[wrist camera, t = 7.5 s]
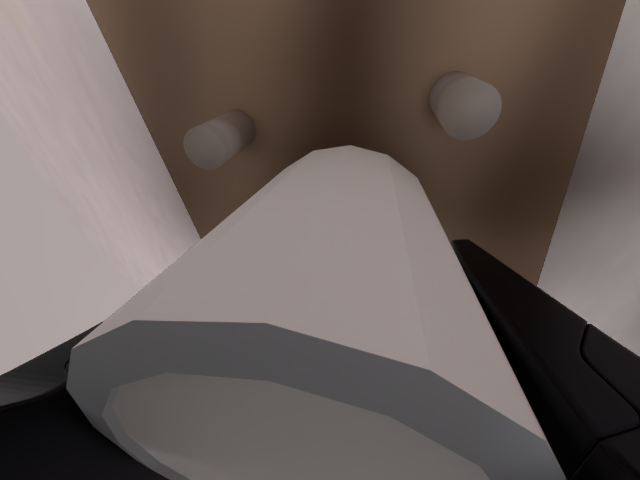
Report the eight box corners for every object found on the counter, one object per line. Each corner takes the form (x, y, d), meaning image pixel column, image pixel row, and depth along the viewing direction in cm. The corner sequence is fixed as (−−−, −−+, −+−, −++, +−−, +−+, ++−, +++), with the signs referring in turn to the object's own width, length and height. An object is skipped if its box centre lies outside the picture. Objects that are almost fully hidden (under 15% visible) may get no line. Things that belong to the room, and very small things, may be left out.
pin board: (648, -194, 6) (906, -421, 3) (508, 327, 14) (538, 400, 12) (109, -12, 9) (-15, -34, 6) (255, 319, 18) (229, 373, 15)
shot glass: (469, 285, 10) (572, 592, 5) (298, 310, 13) (227, 528, 7) (431, 79, 7) (624, 255, 1) (212, 167, 9) (-49, 358, 4)
